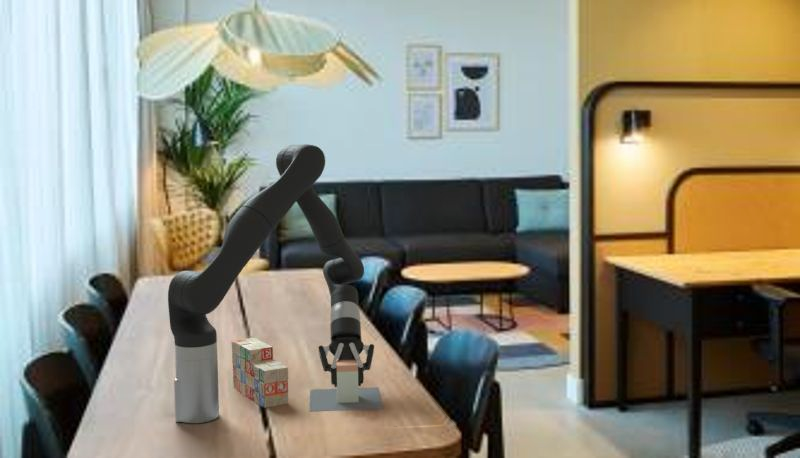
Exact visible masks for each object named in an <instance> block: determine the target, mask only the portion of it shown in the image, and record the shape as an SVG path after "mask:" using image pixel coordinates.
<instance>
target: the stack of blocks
mask: <svg viewBox="0 0 800 458" xmlns="http://www.w3.org/2000/svg"><path fill="white" fill-rule="evenodd" d="M273 348H274V347H273V346H272V345H269V344H268V343H265V342H263V341H261V340H259V339H257V338H256V337H249V338H243V339H236V340H235V339H234V340H232V341H231V355H232V356H231V357H232V358H231V361H232V375H233V376H232V380H233V381H232V382H233V385H232V386H233V388H234V389H236V390H237V391H238V392H240V393H241V395H242V396H243V395H244V396H245V397H247V398H249V399H250V400H251V401H253V402H255V403H256V404H257V405H258V406H260V407H261V408H265V409H266V408H270V407H276V406H281V405H288V404H289V367H288V366H286V365H285V364H283V363H281V362H280V361H278V360H276V359H274V349H273Z"/></svg>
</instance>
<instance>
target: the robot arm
mask: <svg viewBox="0 0 800 458" xmlns="http://www.w3.org/2000/svg"><path fill="white" fill-rule="evenodd" d="M275 166H276V169H277V172H278V174H279V176H280V177H279V178H278V179H277V180H276V181H274V182H273V183H272V184H271V185H269V186H267V187H266V188H264V189H262V190H261V191H259V192H258V193H256V194H255V195H254V196H252V197H251V198H249V199H248V200H247V201H246V202H245V203H243V204H242V206H241V207H240V208H239V209H238V210H237V212H236V213H235V214H234V215H233V217H231V219H230V220H229V222H228V223H227V226H226V228H225V230H224V231H225V232H224V235H223V239H222V244H221V248H220V249H219V252H218V253H217V254H216V256H215V257H214V258H213V260H211V262H210V263H209V264H208V265H207V266H206V268H204V269H203V271H201V272H200V271H193V270H182V271H180V272H178V273H176V274H175V275H174V276H173V278H171V280H170V283H169V285H168V291H167V302H168V303H167V304H168V317H169V327H170V331H171V334H172V335H173V338H174V340H173V341H174V355H175V358H174V359H175V363H174V364H175V378H174V381H173V386H174V412H175V423H176V422H177V423H178V422H180V423H186V424H201V423H208V422H211V421H214V420H216V419H218V418H219V417H220V403H219V402H220V399H219V397H220V396H219V395H220V394H219V393H220V390H219V365H218V362H219V361H218V342H217V341H218V337H217V336H218V335H217V334H218V333H217V330H216V328H215V327H214V326H213V325H212V324H211V323H210V321H209V320H208V317H207V315H208V314H210V313H212V312H214V311H215V310H216V309H217V308H218V307H219V305H220V304H221V302H223V300H224V298H225V297H226V295H227V293H228V292H229V291H230V289H231V287H232V285H234V282H235V281H236V279H238V276H239V275H240V273H241V272H242V270H244V268H245V267H246V266H247V264H248V263H249V262H250V260H251V259H252V258H253V257H254V255H255V254H256V253H257V251H258V250H259V248H261V246H262V245H263V244H264V243H265V242H266V240H267V239H268V238H269V236H270V235H271V234H272V233H273V231H274V230H275V229H276V227H277V226H278V224H279V223H280V222H281V220H282V219H283V218H284V217H285V216H286V215H287V213H288V212H289V211H290V210H291V209H292V207H293V206H294V204H295V203H297V206H298V207H299V208H300V209H301V212H302V214H303V215H304V217H305V219H306V220H307V223H308V225H309V227H310V229H311V232H312V234H313V237H314V239H315V241H316V244H317V245H318V247H319V250H320V252H321V254H322V255H324V256H326V257H327V256H331V257H332V256H334V257H335V256H336V257H338V258H333V259H331V260H330V259H329V260H328V261H326V262H325V264H324V265H323V269H322V274H323V278H324V280H325V283H326V284H327V287H328V291H329V296H330V314H329V315H330V316H329V325H330V342H329V345H326V346H323V345H319V346H318V355H319V359H320V362H321V366H322V368H323V371H324V372H329V373H330V378H331V379H330V380H331V385H332V386H333V385H334V388H337V368H336V367H337V364H336V361H339V360H355V361H357V362H358V387H361V386H362V384H364V381H365V380H364V372H365V371H369V370H371V367H372V363H373V358H374V352H375V345H374V344H373V343H370V344H369V345H367V344H364V343H363V341H362V330H361V329H362V328H361V325H362V322H361V313H360V309H359V308H360V307H359V293H358V290H357V288H356V287H355V286H353V285H351V283H355V282H358V281H360V280H362V279H363V277H364V274H365V267H364V263H363V261H362V260H361V258H360V257H359V255H358V254H357V253H356V251H354V249H353V248H352V247H351V246H350V244H349V242H348V241H347V239H346V238H345V235H344V233H343V231H342V228H341V225H340V223H339V221H338V219H337V218H336V216H335V213H333V211H332V210H331V208H329V206H328V205H327V204H326V203H325V202H324V201H323V200H322V198H321V197H320V196H319V195H318V194H317V192H316V190H315V189H314V187H313V185H314V184H315V183H316V182H317V180H319V178H320V177H321V176H322V174H323V172H324V170H325V166H326V156H325V153H324V151H323V150H322V148H320V147H319V146H317V145H314V144H307V143H305V144H290V145H285V146H284V147H282V148H281V149H280V150H279V151H278V153H277V155H276V158H275ZM363 351H364V354H365V355H366V358H365V359H366V360H365V362H363V361H362V359H361V357H360V354H362V352H363ZM329 352H330V354H332V355H333V360H332V363H329V361H328V357H327V356H328V354H329Z"/></svg>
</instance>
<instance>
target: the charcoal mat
mask: <svg viewBox="0 0 800 458" xmlns="http://www.w3.org/2000/svg"><path fill="white" fill-rule="evenodd" d="M358 400H359V402H349V403H337V388H320V389H319V388H318V389H310V391H309V412H311V413H312V412H333V411H335V412H336V411H338V412H339V411H357V410H359V411H360V410H362V411H363V410H365V411H366V410H384V406H383V401H382V397H381V393H380V388H379V387H378V386H374V387H373V386H372V387H358Z"/></svg>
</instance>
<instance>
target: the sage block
mask: <svg viewBox="0 0 800 458" xmlns="http://www.w3.org/2000/svg"><path fill="white" fill-rule="evenodd" d="M336 364H337V367H336V368H337V387H336V389H337V403H349V402H359V400H358V388H359V386H358V362H357V361H355V360H339V361H336Z"/></svg>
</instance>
